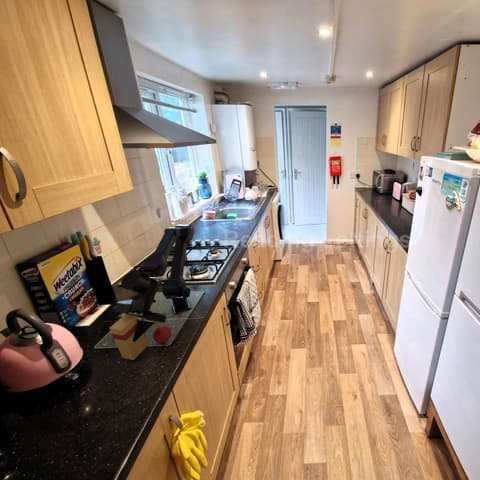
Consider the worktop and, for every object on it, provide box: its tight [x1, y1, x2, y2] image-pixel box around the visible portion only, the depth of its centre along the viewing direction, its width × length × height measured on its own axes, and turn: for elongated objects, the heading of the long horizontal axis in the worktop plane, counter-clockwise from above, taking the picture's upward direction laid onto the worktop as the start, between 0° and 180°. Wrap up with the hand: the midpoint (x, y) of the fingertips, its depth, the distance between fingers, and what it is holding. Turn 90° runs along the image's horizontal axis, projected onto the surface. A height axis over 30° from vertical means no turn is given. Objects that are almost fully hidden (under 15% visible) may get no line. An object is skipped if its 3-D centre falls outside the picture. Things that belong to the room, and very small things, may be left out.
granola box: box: [109, 314, 149, 361], centre depth 90 cm, size 4×7×14 cm
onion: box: [152, 323, 172, 344], centre depth 97 cm, size 6×6×8 cm
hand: (128, 340), depth 89 cm, fingers closed on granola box, 4 cm apart
